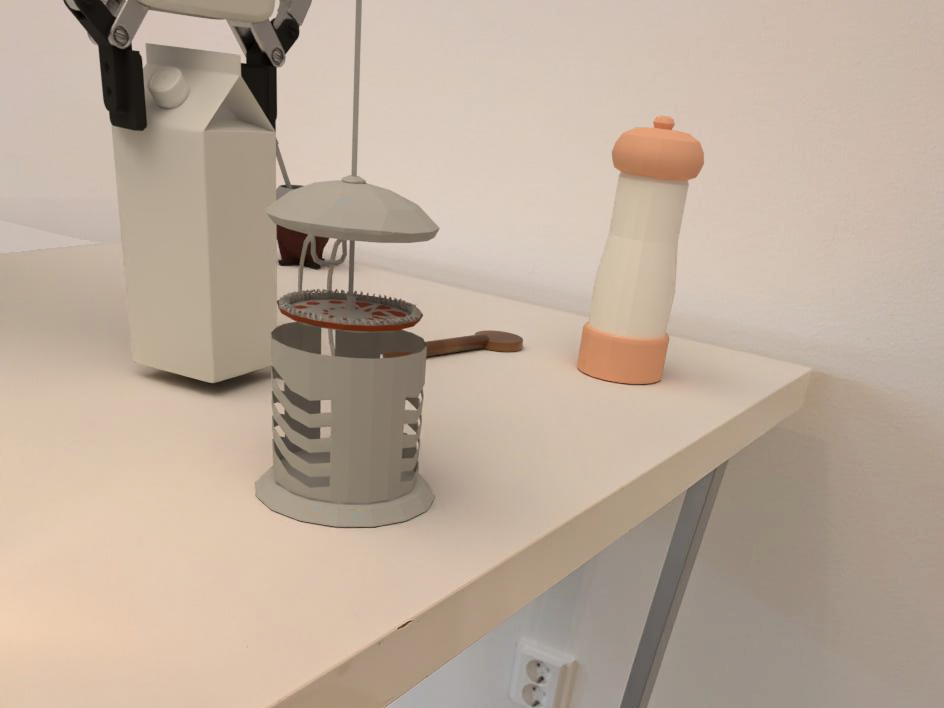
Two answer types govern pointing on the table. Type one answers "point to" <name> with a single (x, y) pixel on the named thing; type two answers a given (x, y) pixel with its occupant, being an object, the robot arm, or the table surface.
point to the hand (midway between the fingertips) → (196, 131)
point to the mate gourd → (291, 239)
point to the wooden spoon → (469, 344)
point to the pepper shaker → (640, 255)
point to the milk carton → (198, 218)
